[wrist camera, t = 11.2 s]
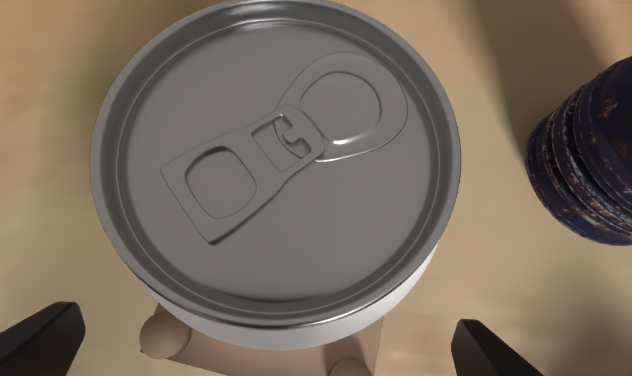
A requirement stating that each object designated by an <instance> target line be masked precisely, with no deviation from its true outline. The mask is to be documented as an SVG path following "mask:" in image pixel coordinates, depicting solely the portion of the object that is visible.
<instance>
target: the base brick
mask: <svg viewBox="0 0 632 376" xmlns="http://www.w3.org/2000/svg"><path fill="white" fill-rule="evenodd" d="M383 317H384V316H382V317H381V318H379V319H378V320H377V321H375V322H374V323H372V324H370V325H369V326H367V327H365V328H364V329H362V330H360V331H358V332H356V333H354V334H352V335H349V336H347V337H345V338H342V339H339V340H337V341H334V342H331V343H328V344H324V345H320V346H316V347H311V348H305V349H297V350H261V349H252V348H247V347H241V346H237V345H233V344H230V343H226V342H223V341H220V340H217V339H215V338H212V337H210V336H207V335H205V334H203V333H201V332H199V331H197V330H195V329H194V328H192V327H190V326H189V325H187V324H185V323H184V322H182V321H181V320H179V319H178V318H177V317H175V316H174V315H173V314H171V313H170V312H169V311H168V310H167V309H166V308H164V307H163V306H162V305H161V304H160V303H159V302H158V305H157V307H156V310H155V313H154V315H153V316H151V317H150V318H149V319H148V320H147V321H146V322H145V323H144V325H143V327H142V329H141V332H140V345H141V350H140V352H142V353H145V354H146V355H148V356H149V357H151V358H154V359H168V360H172V361H176V362H179V363H183V364H187V365H191V366H194V367H198V368H202V369H206V370H209V371H213V372H217V373H221V374H224V375H228V376H374V371H375V365H376V359H377V353H378V347H379V341H380V335H381V329H382V323H383Z"/></svg>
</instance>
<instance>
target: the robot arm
mask: <svg viewBox="0 0 632 376" xmlns="http://www.w3.org/2000/svg"><path fill="white" fill-rule="evenodd" d="M84 336H85V324H84V321H83V317H82V314H81V311H80V307H79V305H78V304H77V303H75V302H62V301H60V302H55V303H53V304H51V305H50V306H48V307H46V308H44V309H42V310H41V311H39V312H37V313H35V314H33V315H32V316H30V317H28V318H26V319H24V320H23V321H21V322H19V323H17V324H15V325H14V326H12V327H10V328H8V329H6V330H5V331H3V332H1V333H0V376H66V374H67V372H68V370H69V368H70V366H71V364H72V362H73V360H74V358H75V356H76V354H77V351H78V349H79V347H80V345H81V343H82V341H83V339H84ZM451 352H452V357H453V361H454V365H455V369H456V373H457V376H544V375H543V374H541V373H540V372H539V371H538V370H537V369H535V368H534V367H533V366H532V365H531V364H530V363H528V362H527V361H526V360H525V359H524V358H522V357H521V356H520V355H519V354H518V353H517V352H515V351H514V350H513V349H512V348H511V347H509V346H508V345H507V344H506V343H505V342H504V341H502V340H501V339H500V338H499V337H498V336H496V335H495V334H494V333H493V332H492V331H491V330H489V329H488V328H487V327H486V326H485V325H483V324H482V323H481V322H480V321H478V320H475V319H460V320H459V321H458V324H457V327H456V330H455V333H454V336H453V339H452V343H451Z"/></svg>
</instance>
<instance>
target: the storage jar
mask: <svg viewBox="0 0 632 376" xmlns="http://www.w3.org/2000/svg"><path fill="white" fill-rule="evenodd" d="M526 166H527V172H528V176H529V179H530V182H531V185H532V187H533V189H534V191H535V193H536V195H537V196H538V198H539V199H540V201H541V202H542V204H543V205H544V206H545V208H546V209H547V210H548V211H549V212H550V213H551V214H552V215H553V216H554V217H555V218H556V219H557V220H558V221H559V222H560V223H562V224H563V225H564V226H566V227H567V228H569V229H570V230H571V231H573V232H575V233H576V234H578V235H580V236H582V237H584V238H586V239H589V240H592V241H595V242H597V243H602V244H606V245H613V246H628V245H632V56H631V57H628V58H625V59H623V60H621V61H618V62H616V63H615V64H613V65H612V66H610V67H609V68H607V69H606V70H604V71H603V72H602V73H600V74H599V75H597V76H596V78H595V79H593V80H591V81H589V82H588V83H586V84H585V85H583V86H582V87H581V88H579V89H578V90H577V91H575V92H574V93H573V94H572V95H570V96H569V97H568V98H567V99H566V100H565V101H564V102H563V103H562V105H561V106H560V107H559V108H558V109H557V110H555V111H554V112H552V113H551V114H549V115H548V116H547V117H545V118H544V119H543V120H542V121H541V122H540V123H539V124H538V125H537V126H536V127H535V129H534V130H533V132H532V133H531V136H530V138H529V141H528V144H527V149H526Z"/></svg>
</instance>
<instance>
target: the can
mask: <svg viewBox="0 0 632 376" xmlns="http://www.w3.org/2000/svg"><path fill="white" fill-rule="evenodd" d="M460 174H461V146H460V138H459V132H458V127H457V123H456V119H455V116H454V112H453V109H452V107H451V104H450V102H449V99H448V97H447V95H446V93H445V91H444V89H443V87H442V85H441V83H440V82H439V80H438V78H437V77H436V75H435V74H434V72H433V71H432V69H431V68H430V67H429V65H428V64H427V63H426V61H425V60H424V59H423V58H422V57H421V56H420V54H419V53H418V52H417V51H416V50H415V49H414V48H413V47H412V46H411V45H410V44H409V43H407V42H406V41H405V40H404V39H403V38H402V37H400V36H399V35H398V34H397V33H395V32H394V31H393V30H391V29H390V28H388V27H387V26H385V25H384V24H382V23H381V22H379V21H377V20H375V19H374V18H372V17H370V16H368V15H366V14H364V13H362V12H360V11H357V10H355V9H352V8H350V7H347V6H344V5H341V4H338V3H335V2H331V1H328V0H229V1H225V2H222V3H218V4H215V5H212V6H209V7H206V8H204V9H201V10H199V11H197V12H194V13H192V14H190V15H188V16H186V17H184V18H182V19H180V20H179V21H177V22H175V23H174V24H172V25H170V26H169V27H167V28H166V29H164V30H163V31H162V32H160V33H159V34H157V35H156V36H155V37H154V38H152V39H151V40H150V41H149V42H148V43H147V44H145V45H144V46H143V47H142V48H141V49H140V50H139V51H138V52H137V53H136V54H135V55H134V56H133V57H132V59H131V60H130V61H129V62H128V63H127V64H126V66H125V67H124V68H123V70H122V71H121V72H120V74H119V75H118V77H117V78H116V80H115V81H114V83H113V84H112V86H111V88H110V90H109V92H108V93H107V95H106V97H105V100H104V102H103V104H102V106H101V109H100V112H99V114H98V117H97V121H96V124H95V128H94V132H93V137H92V143H91V152H90V178H91V187H92V193H93V198H94V202H95V206H96V210H97V213H98V216H99V219H100V221H101V224H102V226H103V228H104V230H105V232H106V235H107V236H108V238H109V240H110V242H111V244H112V245H113V247H114V248H115V250H116V252H117V253H118V254H119V256H120V257H121V259H122V260H123V261H124V262H125V264H126V265H127V266H128V267H129V268H130V270H131V271H132V272H133V273H134V274H135V275H136V276H137V277H138V278H139V279H140V280H141V282H142V283H143V284H144V286H145V287H146V288H147V290H148V291H149V292H150V293H151V294H152V296H153V297H154V298H155V299H156V300H157V301H158V302H159V303H160V304H161V305H162V306H163V307H164V308H166V309H167V310H168V311H169V312H170V313H171V314H173V315H174V316H175V317H177V318H178V319H179V320H181V321H182V322H184V323H185V324H187V325H189V326H190V327H192V328H194V329H195V330H197V331H199V332H201V333H203V334H205V335H207V336H210V337H212V338H215V339H217V340H220V341H223V342H226V343H230V344H233V345H237V346H241V347H247V348H252V349H261V350H297V349H305V348H311V347H316V346H320V345H324V344H328V343H331V342H334V341H337V340H339V339H342V338H345V337H347V336H349V335H352V334H354V333H356V332H358V331H360V330H362V329H364V328H365V327H367V326H369V325H370V324H372V323H374V322H375V321H377V320H378V319H379V318H381V317H382V316H384V315H385V314H386V313H387V312H389V311H390V310H391V309H392V308H393V307H395V306H396V305H397V304H398V303H399V302H400V301H401V300H402V299H403V298H404V297H405V296H406V295H407V294H408V292H409V291H410V290H411V289H412V288H413V286H414V285H415V284H416V283H417V281H418V280H419V278H420V277H421V276H422V274H423V272H424V271H425V269H426V268H427V266H428V264H429V262H430V260H431V258H432V256H433V254H434V252H435V249H436V247H437V244H438V242H439V239H440V237H441V236H442V234H443V232H444V230H445V228H446V226H447V223H448V221H449V219H450V216H451V214H452V211H453V208H454V205H455V201H456V197H457V193H458V188H459V182H460Z"/></svg>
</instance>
